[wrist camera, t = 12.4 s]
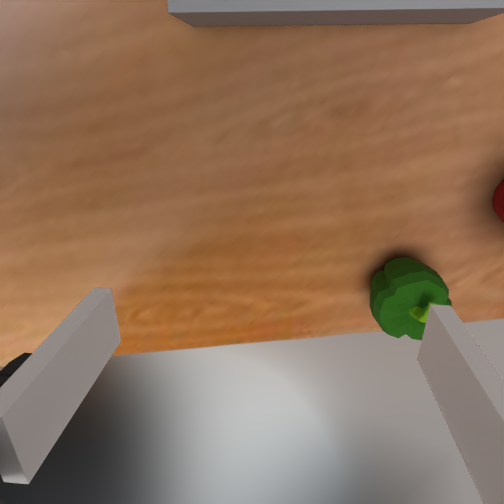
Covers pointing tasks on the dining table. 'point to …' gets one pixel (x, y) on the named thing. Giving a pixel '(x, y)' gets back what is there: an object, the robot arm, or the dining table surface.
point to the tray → (331, 12)
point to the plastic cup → (499, 201)
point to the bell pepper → (406, 296)
